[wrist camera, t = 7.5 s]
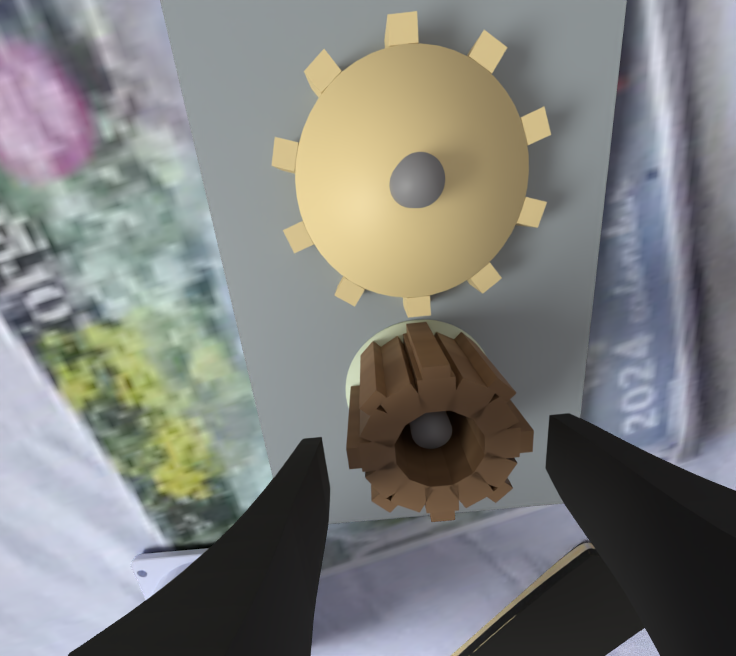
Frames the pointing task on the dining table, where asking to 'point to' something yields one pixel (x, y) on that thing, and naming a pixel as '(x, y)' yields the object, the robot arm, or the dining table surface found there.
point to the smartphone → (562, 614)
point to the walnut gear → (424, 395)
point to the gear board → (403, 199)
